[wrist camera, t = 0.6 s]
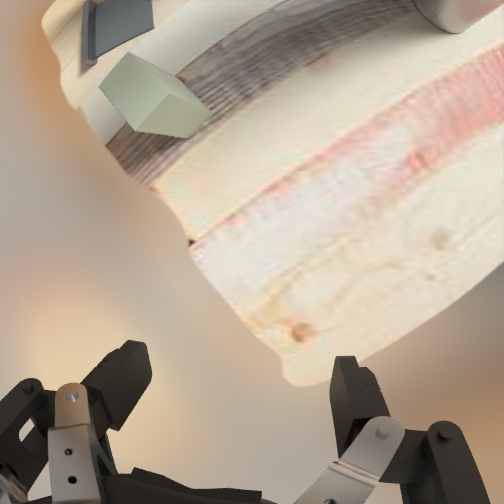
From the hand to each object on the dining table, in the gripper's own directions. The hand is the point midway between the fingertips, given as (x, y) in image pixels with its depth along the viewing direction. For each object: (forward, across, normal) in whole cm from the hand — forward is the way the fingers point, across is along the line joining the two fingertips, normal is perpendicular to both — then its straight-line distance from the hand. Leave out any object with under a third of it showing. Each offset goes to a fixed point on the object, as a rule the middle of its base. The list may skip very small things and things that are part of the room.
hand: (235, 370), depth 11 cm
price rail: (+24, +27, -35) cm, 50 cm away
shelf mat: (+23, +22, -36) cm, 48 cm away
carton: (+24, +10, -17) cm, 31 cm away
